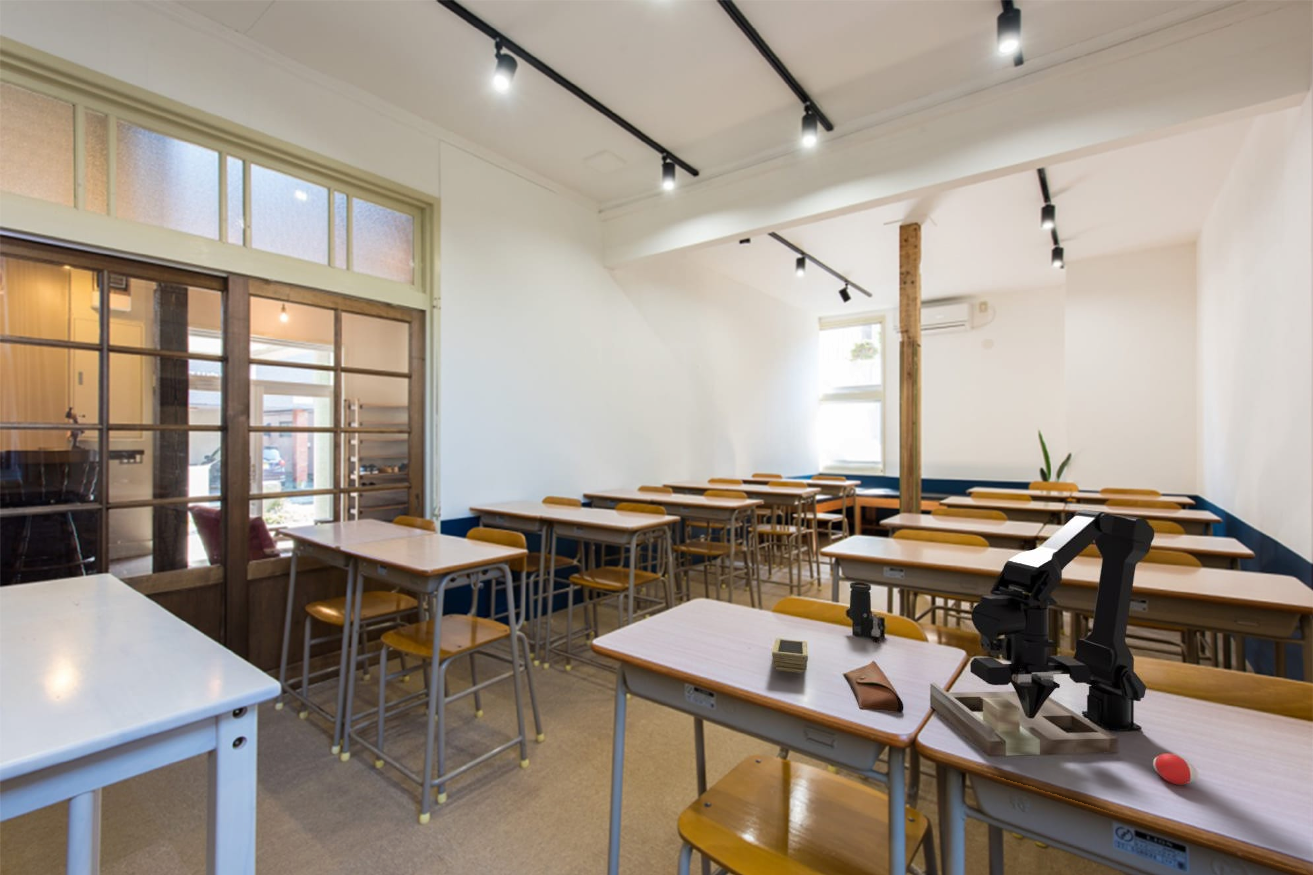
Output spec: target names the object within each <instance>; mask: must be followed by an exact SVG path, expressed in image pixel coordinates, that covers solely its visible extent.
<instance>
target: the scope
mask: <svg viewBox="0 0 1313 875" xmlns="http://www.w3.org/2000/svg"><path fill="white" fill-rule="evenodd" d="M849 587H850V592H849V593H850V594H849V595H850V596H849V608H847V609H846V610H845V616H846V617H847V618H849V619H850V620H851V621H852V622H851V623H852V626H851V627H852V632H851V633H852V636H854V637H858V638H865V639H870V640H871V641H872V642H877V643H881V642H882V639H885V637H886V635H885V632H886V629H887V624H886V620H885V619H886V617H884V616H878V613H877V612H873V611H872V603H871V602H872V600H871V597H872V596H871V592H870V591H871V590H872V585H871V584H870V583H867V582H862V581H861V582H860V581H853V582H850V583H849Z"/></svg>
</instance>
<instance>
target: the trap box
mask: <svg viewBox="0 0 1313 875" xmlns="http://www.w3.org/2000/svg"><path fill="white" fill-rule="evenodd" d="M929 684H930V686H929V687H930V688H929V690H930V693H929V694H930V696H929V705H930V707H932V709H934V710H935V711H936V712H937V713H938V714H940V715H941V716H942V717H943V718H944V719H946V721H947V722H949V723H950V724H951V725H952V726H953V727H955V728H956V729H957V730H958V731H959V732H960V733H962V734H963V735H964V736H965V737H966V738H967V739H968V740H969V741H971V742H972V744H974V745H975V746H976V747H978V748H979V749H980V750H981V751H982V752H984V753H985V755H987V756H988V757H996V756H997V757H999V756H1000V757H1002V756H1003V757H1004V756H1007V757H1008V756H1040V755H1041V756H1043V755H1044V756H1045V755H1047V756H1048V755H1083V754H1085V755H1087V754H1088V755H1089V754H1118V753H1119V750H1118V749H1119V738H1118V737H1116V736H1115V735H1114V734H1112V733H1110V732H1108V731H1107V730H1105V729H1103V728H1102V727H1100V726H1098V725H1097V724H1095V723H1093V722H1092V721H1090V720H1088V719H1086V718H1085V717H1083V715H1080V714H1078V713H1077V712H1075V711H1074V710H1072V709H1070V708H1068V707H1066V706H1065V705H1063V704H1062V703H1060V702H1059V701H1057V700H1056V699H1053V698H1052V697H1050V696H1049V697H1048V698H1047V699H1046V701H1045V702H1044V703H1043V705H1042V707H1041V708H1040V710H1039V711H1038V713H1037V714H1036V716H1035V717H1034V718H1031V719H1029V718H1028V717H1026V716H1025V713H1024V711H1023V708H1022V706H1021V703H1020V700H1019V698H1018V695H1017V693H1016V691H1015V690H1013V691H1012V690H1011V691H1009V690H1008V691H970V692H969V691H967V692H965V691H963V692H961V691H959V692H958V691H957V692H947V691H946V690H945V689H943V687H941V686H940V685H938V684H937V683H936V682H930V683H929ZM983 698H1005V699H1007V700H1008V701H1010V702H1011V703H1013V704H1014V705H1016V706H1017V707H1019V708H1020V731H1007V732H998V731H996V730H995V729H994V728H992V727H991V726H990V725H989V724H987V723H986V722H985V721H983Z"/></svg>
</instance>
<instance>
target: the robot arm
mask: <svg viewBox="0 0 1313 875" xmlns="http://www.w3.org/2000/svg"><path fill="white" fill-rule="evenodd" d="M1154 538H1155V530H1154V527H1153V526H1152V525H1151V524H1150V523H1149V521H1148V520H1147V519H1145V518H1144V517H1135V516H1127V515H1118V514H1110V513H1107V512H1105V511H1098V510H1090V509H1080V510H1077V511H1075V512H1074V514H1073V516H1072V518H1071V519H1070V520H1069V521H1068V522H1067V523H1066V524H1064V525H1063V526H1062V527H1061V528H1060V529H1059V530H1057V531H1056V532H1055V533H1054V534H1053V535H1051V536H1050V537H1049V538H1048V539H1046V540H1045V541H1044V542H1043V543H1042V544H1041V545H1040V546H1038V547H1036V548H1035V549H1032V550H1027V551H1023V552H1020V553H1018V554H1016V555H1014V556H1013V557H1011V558H1010V559H1008V560H1007V561H1006V562H1005V563H1004V565H1003V568H1002V569H1001V572H1000V574H999V575H998V577H997V579H996V581H995V583H994V584H993V587H992V588H991V590H990V594H991V595H982V596H981V598H980V600H981V601H980V602H979V603H977V604H975V606H974V607H973V609H972V611H971V617H970V618H971V621H972V624H973V626H974V628H975V630H976V631H977V632H978V633H979V634H980V639H979V640H980V641H979V642H980V647H981V650H983V651H985V652H990V654H991V656H987V657H986V656H983V657H982V656H981V657H980V656H979V657H973V659H971V661H970V664H969V665H970V666H969V667H970V673H972V675H975V676H976V677H978V678H979V679H980V680H982V681H983V682H985V683H987V685H991V686H1008V685H1009V684H1010V683H1011V685H1012V687H1013V689H1014V691H1016V693H1017V695H1018V698H1019V700H1020V703H1021V706H1022V708H1023V711H1024V713H1025V716H1026V717H1028V718H1029V719H1031V718H1034V717H1035V716H1036V714H1037V713H1038V711H1039V710H1040V708H1041V707H1042V705H1043V703H1044V702H1045V701H1046V699H1047V698H1048V697H1050V696H1051V694H1052V693H1053V692H1054V691H1055V689H1060V688H1061V684H1059V683H1058V682H1056V681H1055V679H1054V678H1055V677H1054V675H1068V676H1069V679H1070V680H1072V681H1073V683H1076V684H1086V685H1088V694H1087V696H1086V710H1083V711H1081V715H1082V716H1084V717H1086V718H1088V719H1090V720H1091V721H1093V722H1094V723H1096V724H1098V725H1100V726H1101V727H1103V728H1104V729H1106V730H1109V731H1113V732H1114V731H1141V730H1143V729H1142V728H1143V727H1142V726H1141V725H1139V724H1137V723H1136V722H1134V721H1135V720H1134V719H1135V716H1134V715H1135V711H1134V708H1135V702H1134V701H1136V702H1142V699H1144V698H1145V695H1146V691H1147V685H1146V684H1145V683H1144V682H1143V681H1142V679H1141V678H1140V677H1139V676H1138V674H1137V673H1136V672H1135V671H1134V669H1135V664H1134V663H1135V658H1134V655H1133V653H1132V652H1131V650H1130V648H1129V646H1128V644H1127V642H1126V637H1127V636H1126V635H1127V630H1128V622H1129V615H1130V609H1131V600H1132V595H1133V594H1132V593H1133V587H1134V580H1135V572H1136V567H1137V564H1138V563H1140V562H1141V561H1142V560H1143V559H1144V558H1145V557H1146V556H1148V554H1149V553H1150V550H1151V547H1152V543H1153V540H1154ZM1093 543H1094V545H1095V546H1096V548H1097V550H1098V552H1099V554H1100V556H1101V558H1102V559H1101V567H1100V573H1099V574H1100V575H1099V580H1098V587H1097V594H1096V600H1095V601H1096V602H1095V606H1094V607H1095V609H1094V615H1093V622H1092V627H1091V628H1092V629H1091V632H1090V633H1089V634H1088V635H1086V637H1084V638H1078V639H1077V640H1076V644H1075V645H1076V647H1075V653H1074V655H1073V658H1072V657H1070V656H1068V655H1049V653H1050V652H1049V649H1050V648H1055V641H1053V640H1052V639H1049V607H1053V606H1057V605H1058V602H1057V601H1056V599H1054V598H1053V597H1052V596H1050V595H1051V594H1052V593H1053V592H1054V591H1055V590H1056V588H1057V587H1058V586H1059V584H1060V583H1061V582H1062V580H1063V570H1064V569H1065V568H1066V567H1067V566H1068V565H1069V564H1070V563H1071V562H1072V561H1073V560H1075V558H1077V556H1079V555H1080V554H1081V553H1082V552H1084V550H1086V549H1087V548H1088V547H1089V546H1091V545H1092V544H1093ZM1001 636H1003V637H1001ZM998 655H999V656H1001V659H1003V660H1005V661H1009V662H1010V663H1003V662H1001V661H1000V660H997V659H996V658H994V656H998ZM992 656H993V657H992Z"/></svg>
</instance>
